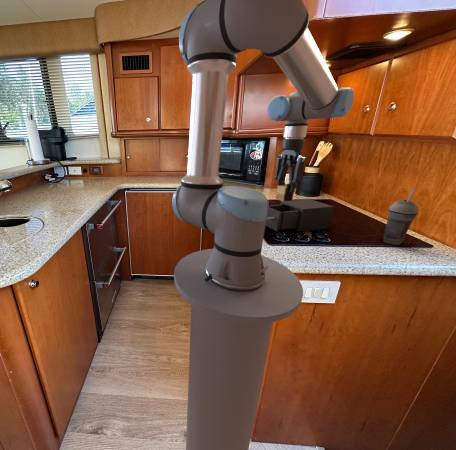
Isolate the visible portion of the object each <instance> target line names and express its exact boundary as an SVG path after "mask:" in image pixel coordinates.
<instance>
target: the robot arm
mask: <svg viewBox="0 0 456 450" xmlns="http://www.w3.org/2000/svg"><path fill="white" fill-rule="evenodd" d="M309 23H310V14H309V12H308V10H307V7H306V6H305V3H304V1H303V0H202V1H201V2H199V3H197V4H196V5H195V7H194V8H192V9H191V10H190V11H189V12H187V13H186V15H185V17H184V19H183V20H182V22H181V25H180V29H179V34H178V46H179V51H180V53H181V54H182V59H183V61H184V62H185V63H186V65H187V67H186V68H187V71H188V73H189V74H190V75H191V77H192V85H191V102H190V103H191V104H190V117H189V118H190V119H189V136H188V137H189V138H188V150H187V154H188V155H187V167H186V168H187V169H186V174H185V175H184V176H183V177H182V178H181V181H180V185H178V186H177V187H176V189H175V190H176V191H174V192H173V195H172V200H171V206H172V210H173V213H174V214H175V216H176V217H177V218H178V219H179V220H180V221H182V222H184V223H186V224H187V225H189V226H194V227H196V228H199V229H201V230H204V231H206V232H209V233H211V234H214V241H213V248H212V249H213V250H212V253H211V255H210V257H209V260H208V262H207V264H206V276H207V277H206V278H205V279H204V280H205V281H206V282H207V281H209V280H210V281H211V282H212V283H214V284H215V285H217V286H219V287H221V288H224V289H227V290H231V291H238V292H248V291H253V290H256V289H259V288H260V287H262V286H263V284H264V282H265V271H266V270H267V269H268V266H266V267H265V268H264V265H263V260H262V256H263V255H262V248H263V241H264V236H265V230H266V225H265V224H266V218H267V216H268V213H267V208H268V206H269V202H268V201H269V200H268V198H267V197H266V196H265V194H263V193H262V192H260V191H258V190H256V189H253V188H250V187H247V186H246V187H245V186H239V185H225V186H224V181H223V178H221V177H220V175H219V170H220V160H221V151H222V143H223V142H222V140H223V131H224V122H225V113H226V112H225V111H226V102H227V94H228V93H227V92H228V82H229V76H230V75H231V74H232V73H233V71H234V70H235V69H236V67H237V60H238V59H237V58H238V54H240V53H241V52H245V51H247V50H258V51H260V52H261V54H262V55H263V56H264V57H266V58H268V59H273V60H274V61H275V63H276V64H277V66H278V67H279V68H280V70H281V71H282V73H283V74H284V75H285V76H286V78H287V79H288V81H289V82H290V83H291V85H292V86H293V87H294V88H295V90H296V91H293V92H291V93H290V94H289V95H286V94H284V95H277V96H274V97H273V98H272V99H271V100H270V101H269V103H268V105H267V108H266V114H267V117H268V118H269V119H270V120H271V121H273V122H274V121H276V122H285V123H284V128H283V133H282V141H281V146H280V149H281V150H283V151H282V152H281V154H277V155H276V159H275V160H276V162H275V171H274V176H273V177H274V180H276V182H277V184H276V188H277V187H278V186H280V185H287V188H286V194H285V200H284V201H292V196H293V197H294V195H293V193H294V194H295V189H296V186H297V185H299V184H301V182H302V177H303V174H304V173H303V172H304V168H305V164H306V162H307V158H308V157H306V156H302V150H304V148H305V142H306V139H305V138H306V137H307V132H308V126H309V122H310V120H320V119H334V118H343V117H345V116H347V115H348V114H349V113H350V111H351V109H352V107H353V105H354V100H355V91H354V89H353V88H352V87H341V88H339V87H338V85H337V83H336V82H335V80H334V78H333V75H332V73H331V71H330V69H329V67H328V66H327V63H326V61H325V60H324V57H323V55H322V53H321V51H320V48H319V47H318V45H317V43H316V41H315V39H314V37H313V36H312V33H311V31H310V30H309V28H308V27H309ZM287 174H288V183H287V184H286V176H287ZM261 255H262V256H261Z"/></svg>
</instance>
